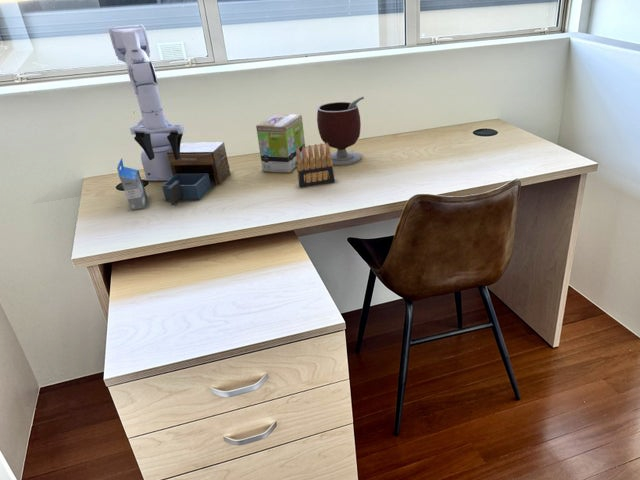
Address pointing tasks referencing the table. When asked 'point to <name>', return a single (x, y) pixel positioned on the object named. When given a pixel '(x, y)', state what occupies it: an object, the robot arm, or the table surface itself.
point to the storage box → (186, 187)
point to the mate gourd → (340, 129)
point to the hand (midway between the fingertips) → (164, 158)
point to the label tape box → (132, 186)
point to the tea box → (280, 142)
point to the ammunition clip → (315, 167)
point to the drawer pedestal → (201, 160)
